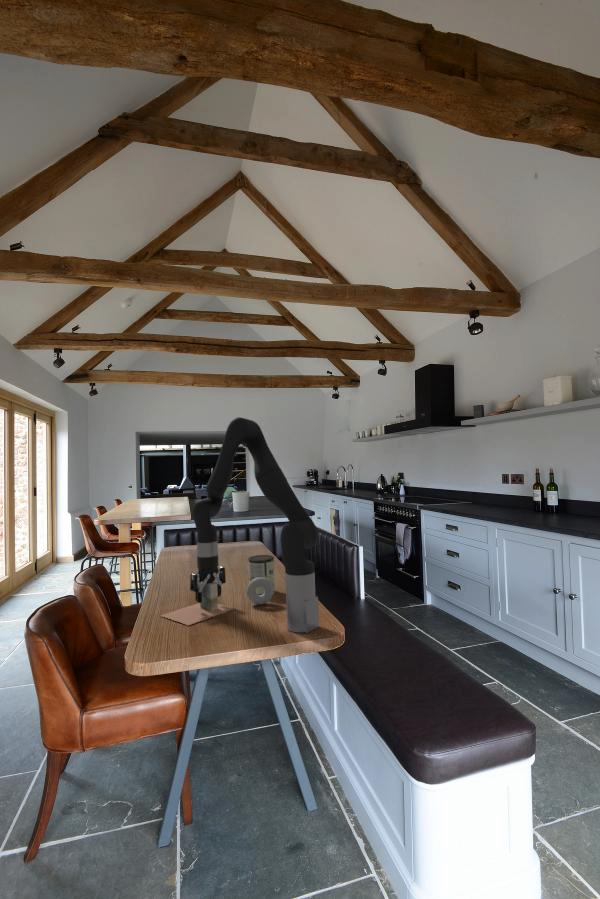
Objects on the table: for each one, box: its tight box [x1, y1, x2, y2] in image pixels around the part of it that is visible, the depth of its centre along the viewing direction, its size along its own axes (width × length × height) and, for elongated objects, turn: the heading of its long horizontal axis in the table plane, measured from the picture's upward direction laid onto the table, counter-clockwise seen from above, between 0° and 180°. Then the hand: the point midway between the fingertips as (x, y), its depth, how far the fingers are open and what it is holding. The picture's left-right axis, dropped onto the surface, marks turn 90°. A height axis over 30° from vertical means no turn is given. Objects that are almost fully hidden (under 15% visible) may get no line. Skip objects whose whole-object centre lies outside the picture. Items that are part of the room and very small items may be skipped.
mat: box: [160, 602, 236, 627], centre depth 156 cm, size 16×20×1 cm
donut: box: [246, 577, 274, 605], centre depth 163 cm, size 10×4×10 cm, turn 98°
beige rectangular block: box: [200, 581, 219, 611], centre depth 160 cm, size 6×3×9 cm, turn 51°
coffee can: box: [247, 554, 276, 595], centre depth 178 cm, size 10×10×14 cm
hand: (208, 599), depth 160 cm, fingers open, 8 cm apart
